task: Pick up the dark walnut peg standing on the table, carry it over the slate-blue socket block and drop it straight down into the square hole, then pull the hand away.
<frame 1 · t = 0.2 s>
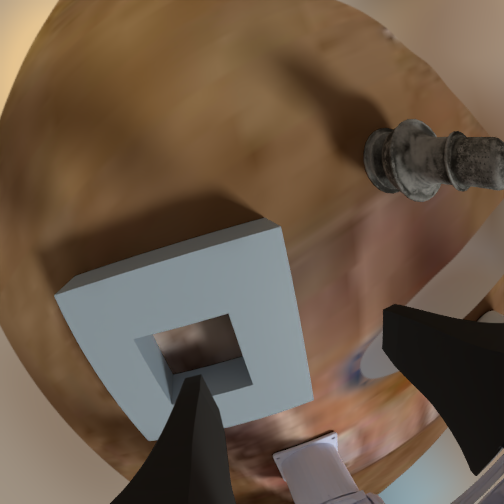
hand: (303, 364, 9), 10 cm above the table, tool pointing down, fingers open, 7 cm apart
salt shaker: (388, 160, 19), on the table
socket block: (195, 336, 19), on the table
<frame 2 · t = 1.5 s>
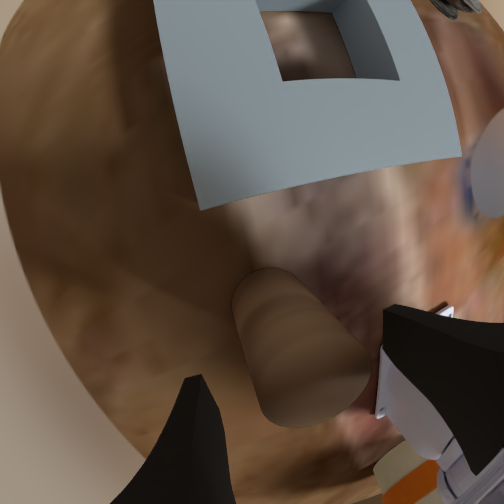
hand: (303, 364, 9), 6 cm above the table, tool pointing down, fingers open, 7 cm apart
walnut peg: (268, 302, 14), on the table
reusable coffee cup: (399, 452, 25), on the table
socket block: (301, 50, 11), on the table
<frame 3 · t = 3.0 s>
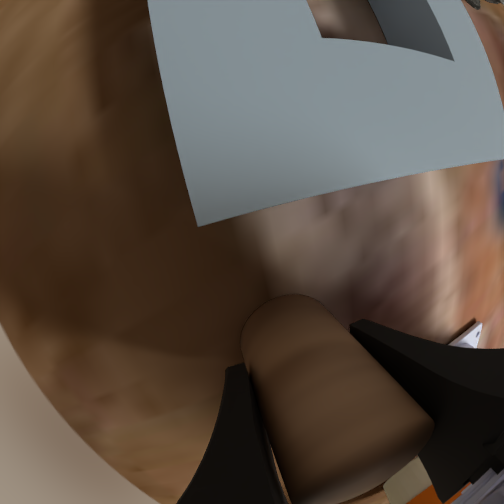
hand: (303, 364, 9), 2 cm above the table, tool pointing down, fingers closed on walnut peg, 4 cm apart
walnut peg: (287, 337, 11), on the table, touching gripper
reusable coffee cup: (410, 467, 22), on the table
socket block: (328, 18, 8), on the table
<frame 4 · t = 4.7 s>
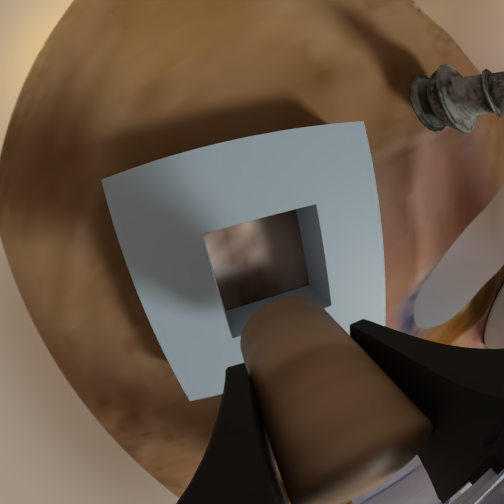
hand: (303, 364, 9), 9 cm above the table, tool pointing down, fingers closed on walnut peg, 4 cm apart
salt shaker: (428, 103, 17), on the table
walnut peg: (287, 339, 11), point 7 cm above the table, touching gripper
cylinder vase: (501, 309, 28), on the table
socket block: (258, 256, 17), on the table
when the fingers open (4 cm above the table, at t = 6.8 s): walnut peg drops 2 cm, resting in socket block.
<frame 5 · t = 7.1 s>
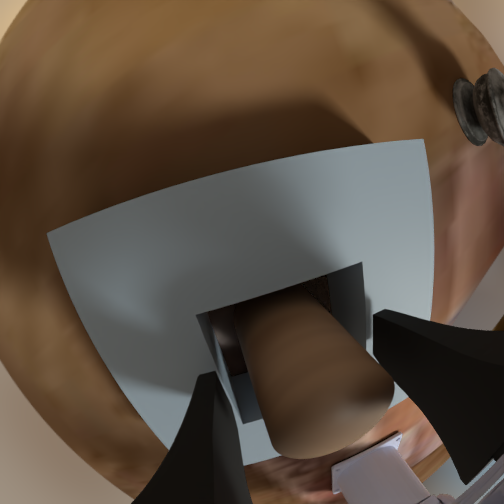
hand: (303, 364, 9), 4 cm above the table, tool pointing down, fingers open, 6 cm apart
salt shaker: (470, 111, 13), on the table
walnut peg: (274, 315, 13), resting in socket block
socket block: (274, 315, 13), on the table
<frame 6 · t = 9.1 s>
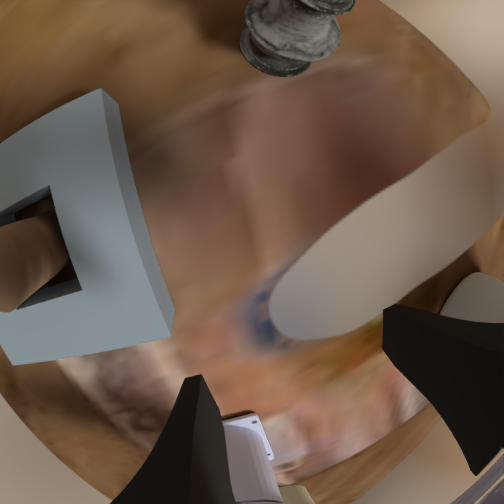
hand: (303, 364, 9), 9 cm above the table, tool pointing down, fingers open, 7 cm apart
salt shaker: (277, 46, 14), on the table
walnut peg: (53, 240, 15), resting in socket block
cylinder vase: (458, 318, 25), on the table
reusable coffee cup: (277, 495, 29), on the table
socket block: (53, 240, 15), on the table
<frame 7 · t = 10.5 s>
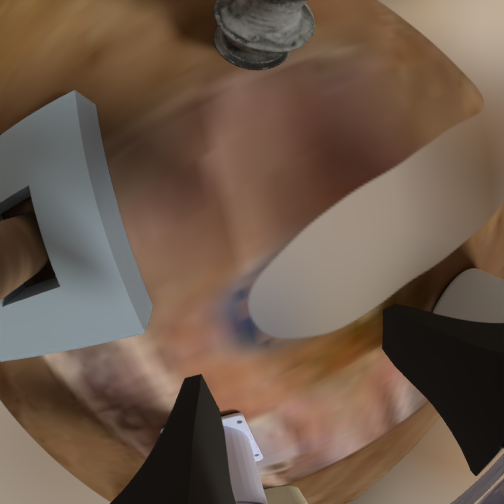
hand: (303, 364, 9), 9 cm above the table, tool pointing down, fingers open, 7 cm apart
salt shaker: (253, 40, 14), on the table
walnut peg: (37, 239, 14), resting in socket block
cylinder vase: (454, 316, 25), on the table
reusable coffee cup: (270, 496, 28), on the table
socket block: (36, 239, 14), on the table
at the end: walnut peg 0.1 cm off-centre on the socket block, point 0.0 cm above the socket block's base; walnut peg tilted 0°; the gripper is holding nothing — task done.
